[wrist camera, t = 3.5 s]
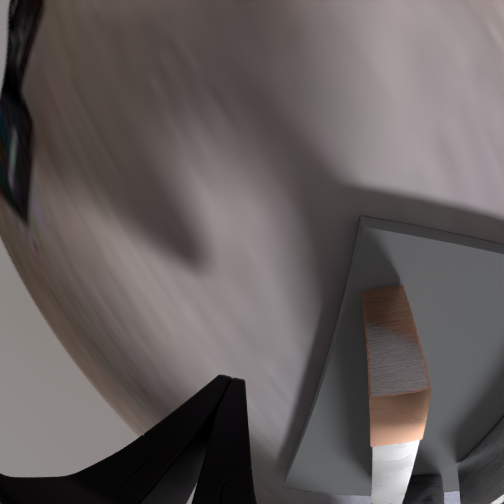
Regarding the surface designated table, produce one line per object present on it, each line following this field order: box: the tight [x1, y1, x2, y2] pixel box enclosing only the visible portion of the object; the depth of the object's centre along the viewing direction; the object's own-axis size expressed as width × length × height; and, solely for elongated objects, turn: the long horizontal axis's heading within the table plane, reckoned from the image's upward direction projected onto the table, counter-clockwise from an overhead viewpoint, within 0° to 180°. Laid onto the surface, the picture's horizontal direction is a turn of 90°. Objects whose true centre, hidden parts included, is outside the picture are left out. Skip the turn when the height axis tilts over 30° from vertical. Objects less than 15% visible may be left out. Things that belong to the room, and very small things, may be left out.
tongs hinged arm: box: [361, 285, 444, 504], centre depth 10 cm, size 18×5×4 cm, turn 17°
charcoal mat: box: [282, 216, 504, 496], centre depth 11 cm, size 18×17×1 cm
